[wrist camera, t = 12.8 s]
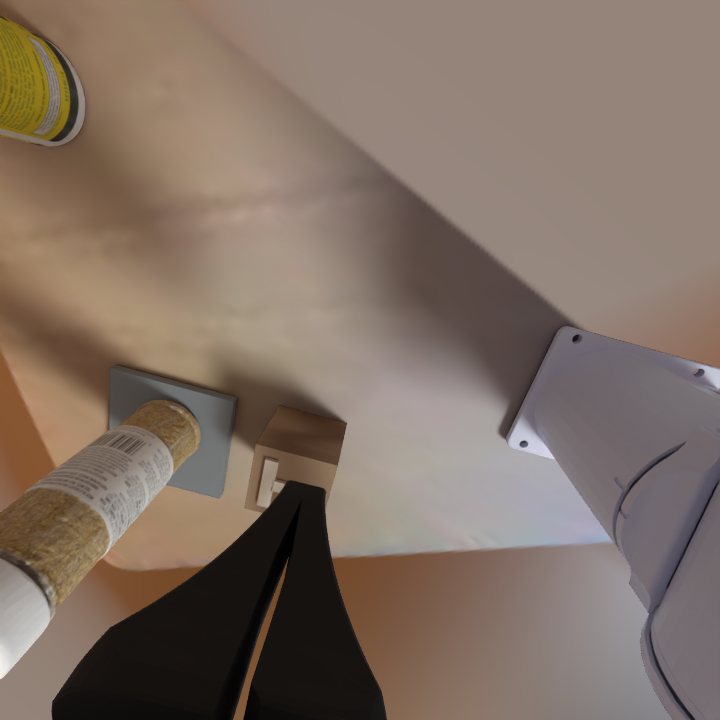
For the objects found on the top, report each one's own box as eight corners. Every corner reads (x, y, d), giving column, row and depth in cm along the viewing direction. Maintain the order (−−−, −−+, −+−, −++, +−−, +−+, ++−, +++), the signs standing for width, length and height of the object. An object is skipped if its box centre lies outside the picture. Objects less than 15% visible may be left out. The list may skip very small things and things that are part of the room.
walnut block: (347, 422, 24) (337, 468, 19) (331, 477, 25) (319, 530, 21) (279, 404, 23) (254, 446, 19) (268, 460, 25) (243, 510, 21)
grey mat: (237, 397, 23) (233, 401, 23) (222, 493, 26) (219, 498, 26) (116, 364, 23) (109, 368, 23) (115, 464, 26) (109, 469, 26)
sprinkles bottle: (130, 439, 24) (-144, 665, 12) (145, 385, 23) (-151, 579, 10) (194, 467, 25) (-7, 714, 12) (213, 415, 23) (6, 638, 11)
